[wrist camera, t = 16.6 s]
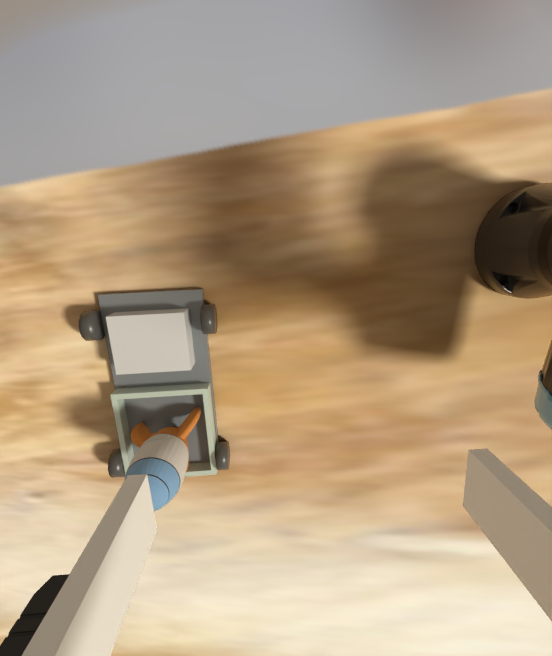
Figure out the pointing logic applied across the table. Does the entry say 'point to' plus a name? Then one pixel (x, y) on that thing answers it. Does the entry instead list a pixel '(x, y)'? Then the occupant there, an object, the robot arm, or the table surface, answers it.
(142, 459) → the toy rocket
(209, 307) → the toy truck
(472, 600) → the table surface
